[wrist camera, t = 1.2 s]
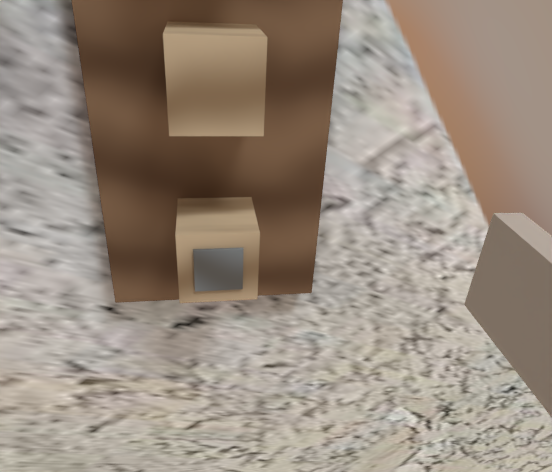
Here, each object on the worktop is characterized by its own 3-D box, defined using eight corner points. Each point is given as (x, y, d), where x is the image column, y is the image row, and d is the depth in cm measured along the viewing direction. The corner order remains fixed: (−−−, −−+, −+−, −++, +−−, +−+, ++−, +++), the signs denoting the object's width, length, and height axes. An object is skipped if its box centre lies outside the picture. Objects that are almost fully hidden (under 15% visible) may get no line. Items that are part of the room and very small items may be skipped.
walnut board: (30, -354, 21) (16, -381, 19) (363, -305, 23) (377, -326, 21) (119, 286, 38) (115, 302, 36) (306, 278, 40) (311, 292, 38)
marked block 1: (177, 198, 33) (175, 236, 28) (251, 197, 33) (260, 234, 29) (181, 260, 35) (179, 305, 31) (249, 258, 36) (257, 301, 31)
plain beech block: (167, 21, 27) (162, 33, 23) (256, 24, 28) (267, 37, 24) (172, 110, 30) (169, 136, 25) (253, 110, 30) (263, 136, 26)
